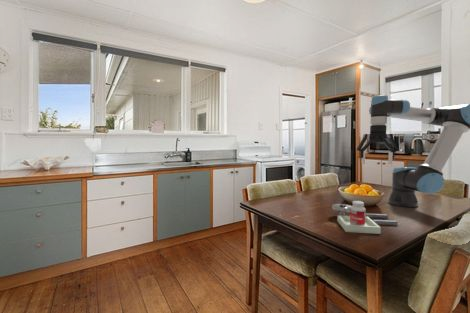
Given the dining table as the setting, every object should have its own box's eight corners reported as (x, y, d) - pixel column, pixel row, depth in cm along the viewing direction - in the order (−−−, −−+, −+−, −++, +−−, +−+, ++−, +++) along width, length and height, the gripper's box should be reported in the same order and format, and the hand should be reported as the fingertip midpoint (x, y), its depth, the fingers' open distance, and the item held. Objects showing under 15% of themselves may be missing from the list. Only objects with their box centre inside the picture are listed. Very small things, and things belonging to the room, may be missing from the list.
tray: (367, 222, 115) (367, 216, 115) (380, 233, 101) (380, 227, 101) (337, 220, 117) (337, 215, 117) (345, 231, 103) (346, 225, 103)
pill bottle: (348, 225, 109) (349, 202, 108) (351, 222, 113) (352, 199, 112) (363, 229, 105) (364, 204, 104) (366, 225, 109) (367, 201, 108)
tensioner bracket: (386, 217, 121) (386, 214, 121) (397, 225, 110) (397, 221, 110) (365, 216, 123) (365, 213, 123) (374, 224, 112) (374, 220, 112)
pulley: (349, 214, 126) (350, 202, 126) (356, 221, 117) (356, 208, 116) (329, 213, 128) (330, 202, 128) (334, 219, 118) (335, 207, 118)
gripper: (400, 125, 129) (398, 163, 131) (351, 125, 133) (350, 162, 135) (407, 124, 122) (405, 165, 123) (356, 124, 125) (354, 164, 127)
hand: (376, 164), depth 129 cm, fingers open, 13 cm apart
